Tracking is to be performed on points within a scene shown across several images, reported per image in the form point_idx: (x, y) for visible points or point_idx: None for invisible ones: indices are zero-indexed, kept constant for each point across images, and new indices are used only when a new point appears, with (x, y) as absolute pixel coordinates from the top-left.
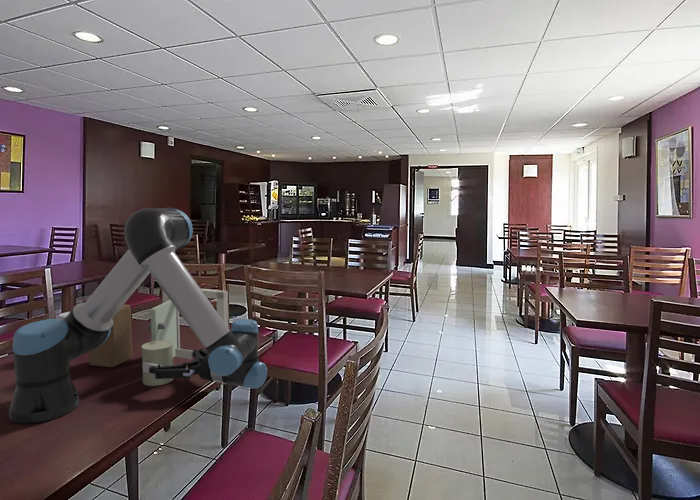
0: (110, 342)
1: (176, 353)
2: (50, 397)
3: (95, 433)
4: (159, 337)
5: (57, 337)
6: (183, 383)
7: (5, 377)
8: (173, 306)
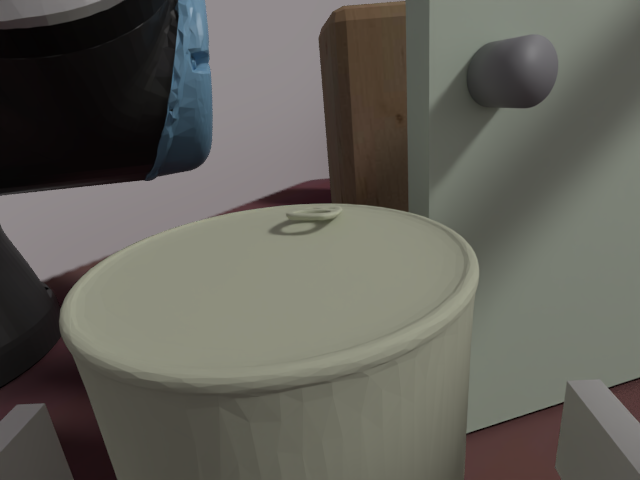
0: (342, 173)
1: (569, 448)
2: None
3: None
4: (486, 191)
5: None
6: None
7: (217, 214)
8: None
